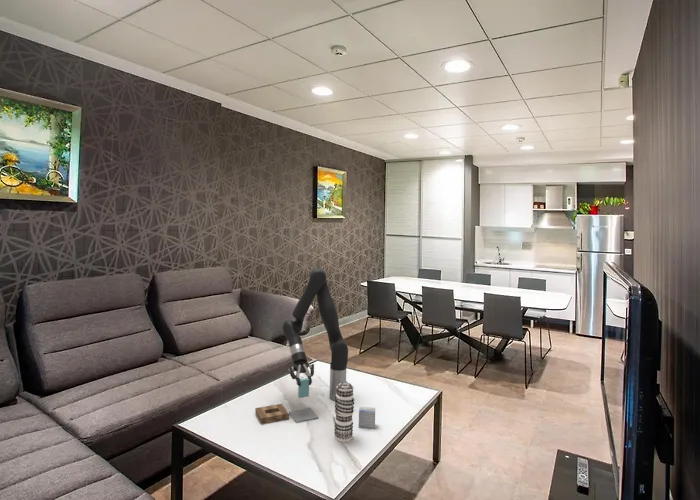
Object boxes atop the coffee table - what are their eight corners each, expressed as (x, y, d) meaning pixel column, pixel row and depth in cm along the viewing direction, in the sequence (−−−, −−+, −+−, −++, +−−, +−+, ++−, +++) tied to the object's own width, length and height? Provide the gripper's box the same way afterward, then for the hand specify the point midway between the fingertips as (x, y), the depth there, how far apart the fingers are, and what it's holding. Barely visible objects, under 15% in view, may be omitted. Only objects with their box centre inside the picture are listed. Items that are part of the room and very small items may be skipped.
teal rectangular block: (307, 395, 215) (308, 378, 214) (308, 396, 213) (309, 379, 212) (298, 396, 213) (298, 379, 212) (299, 398, 211) (300, 380, 210)
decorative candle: (330, 439, 191) (331, 386, 189) (338, 430, 200) (339, 379, 198) (348, 443, 188) (350, 389, 186) (356, 434, 196) (357, 382, 194)
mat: (310, 408, 221) (310, 407, 221) (318, 418, 211) (318, 417, 211) (288, 412, 216) (288, 411, 216) (295, 422, 205) (295, 421, 205)
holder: (281, 409, 220) (282, 403, 220) (288, 419, 209) (289, 413, 209) (255, 413, 214) (255, 408, 213) (261, 424, 203) (261, 418, 203)
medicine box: (375, 424, 207) (375, 407, 206) (374, 428, 202) (375, 411, 202) (359, 423, 207) (359, 406, 207) (358, 427, 203) (358, 410, 202)
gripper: (286, 352, 215) (293, 383, 205) (312, 349, 221) (320, 380, 211) (283, 359, 220) (289, 390, 210) (309, 356, 226) (316, 386, 216)
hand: (305, 384), depth 211 cm, fingers closed on teal rectangular block, 5 cm apart
